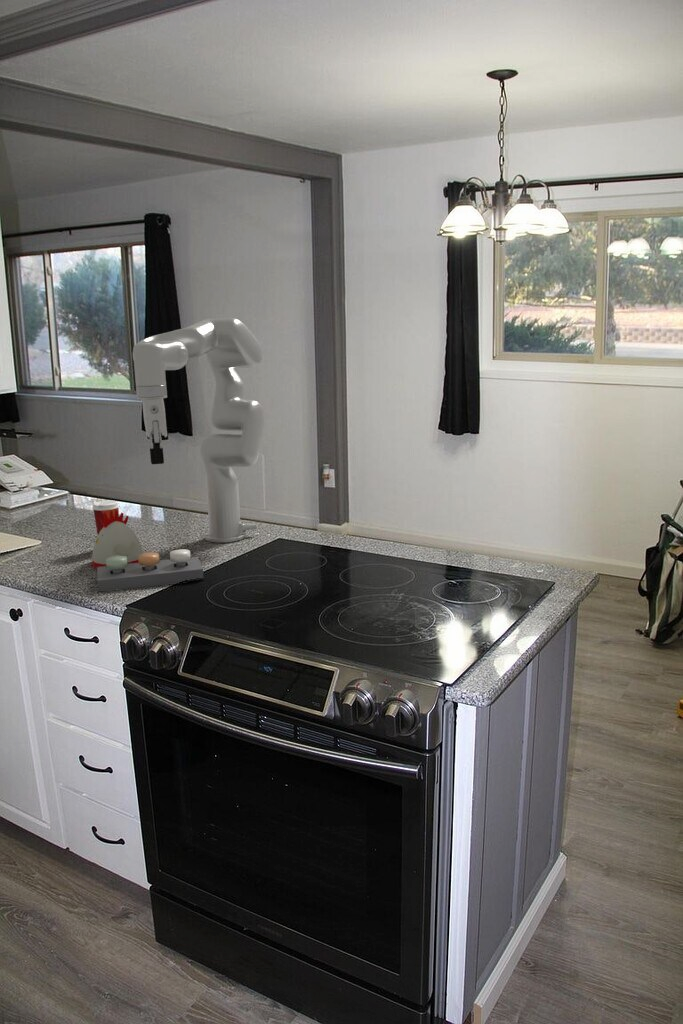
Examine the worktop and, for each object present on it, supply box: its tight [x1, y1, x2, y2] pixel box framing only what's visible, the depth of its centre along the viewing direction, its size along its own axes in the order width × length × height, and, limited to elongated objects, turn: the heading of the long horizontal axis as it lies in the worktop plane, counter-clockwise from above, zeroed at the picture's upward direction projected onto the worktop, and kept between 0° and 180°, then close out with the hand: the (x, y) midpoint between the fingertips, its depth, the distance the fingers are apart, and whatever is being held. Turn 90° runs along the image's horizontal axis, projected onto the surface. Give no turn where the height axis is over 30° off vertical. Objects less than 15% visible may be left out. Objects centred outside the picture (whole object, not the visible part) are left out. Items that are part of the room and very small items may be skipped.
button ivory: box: [169, 548, 191, 567], centre depth 221 cm, size 5×5×5 cm
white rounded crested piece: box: [91, 510, 144, 569], centre depth 234 cm, size 14×14×15 cm
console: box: [96, 556, 204, 592], centre depth 219 cm, size 26×12×3 cm, turn 106°
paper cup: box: [92, 500, 120, 535], centre depth 248 cm, size 8×8×14 cm
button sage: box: [106, 556, 128, 574], centre depth 217 cm, size 5×5×5 cm
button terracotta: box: [138, 552, 160, 570], centre depth 219 cm, size 5×5×5 cm
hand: (157, 463), depth 220 cm, fingers closed
